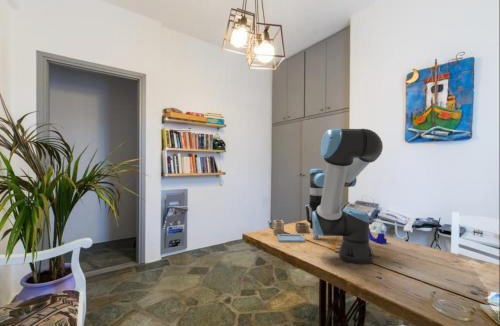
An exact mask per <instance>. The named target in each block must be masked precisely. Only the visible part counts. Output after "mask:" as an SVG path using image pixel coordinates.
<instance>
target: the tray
mask: <svg viewBox="0 0 500 326" xmlns="http://www.w3.org/2000/svg"><path fill="white" fill-rule="evenodd" d="M276 238H277V239H278V243H306V242H307V241H306V239H305V236H303V234H302V233H294V234H293V233H291V234H290V233H289V234H288V233H284V234H277V235H276Z"/></svg>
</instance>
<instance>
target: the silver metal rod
mask: <svg viewBox="0 0 500 326" xmlns="http://www.w3.org/2000/svg"><path fill="white" fill-rule="evenodd" d="M312 236H313V237H312V238H313V240H314V241H319V235H316V234H315V232H314V235H313V234H312Z"/></svg>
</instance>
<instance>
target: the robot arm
mask: <svg viewBox="0 0 500 326" xmlns="http://www.w3.org/2000/svg"><path fill="white" fill-rule="evenodd" d="M383 146H384V145H383V140H382V138H381V137H380V136H379V135H378V133H376V132H375V131H373V130H371V129H368V128H331V129H327V130H325V132H324V133H323V136H322V139H321V143H320V155H321V157H322V158H323V161H324V162H325V163H326V167H325V172H324V169H322V168H311V169H310V170H309V194H310V195H309V203H308V204H306V205H304V209H305V211H306V212H305V213H306V214H305V215H306V216H305V217H306V223H309V228H310V229H311V235H312V236H313V235H314V232H315V234H316V235H319V236H321V237H342V241H341V244H340V247H339V249H338V256H339V258H340V259H342V260H343V261H345V262H349V263H352V264H359V265H366V264H371V263H373V262H374V255H373V251H372V248H371V246H370V240H369V229H370V215H369V214H368V213H367V212H366V211H364V210H361V209H356V208H349V207H344V208H343V209H341V205H342V199H343V193H344V188H352V187H355V186H356V185H357V178H358V176H359V175H360V174H361V173H362V172H363V171H364V170H365V169H366V167H367V166H368V165H369V164H370V163H373V162H375V161H377V160H378V158H379V157H380V156H381V155H382V152H383V148H384V147H383ZM310 209H311V213H310ZM342 211H343V212H342Z"/></svg>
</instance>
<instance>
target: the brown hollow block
mask: <svg viewBox="0 0 500 326" xmlns="http://www.w3.org/2000/svg"><path fill="white" fill-rule="evenodd" d="M307 223H308V222H295V231H296V234H309V228H310V224H307Z"/></svg>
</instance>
